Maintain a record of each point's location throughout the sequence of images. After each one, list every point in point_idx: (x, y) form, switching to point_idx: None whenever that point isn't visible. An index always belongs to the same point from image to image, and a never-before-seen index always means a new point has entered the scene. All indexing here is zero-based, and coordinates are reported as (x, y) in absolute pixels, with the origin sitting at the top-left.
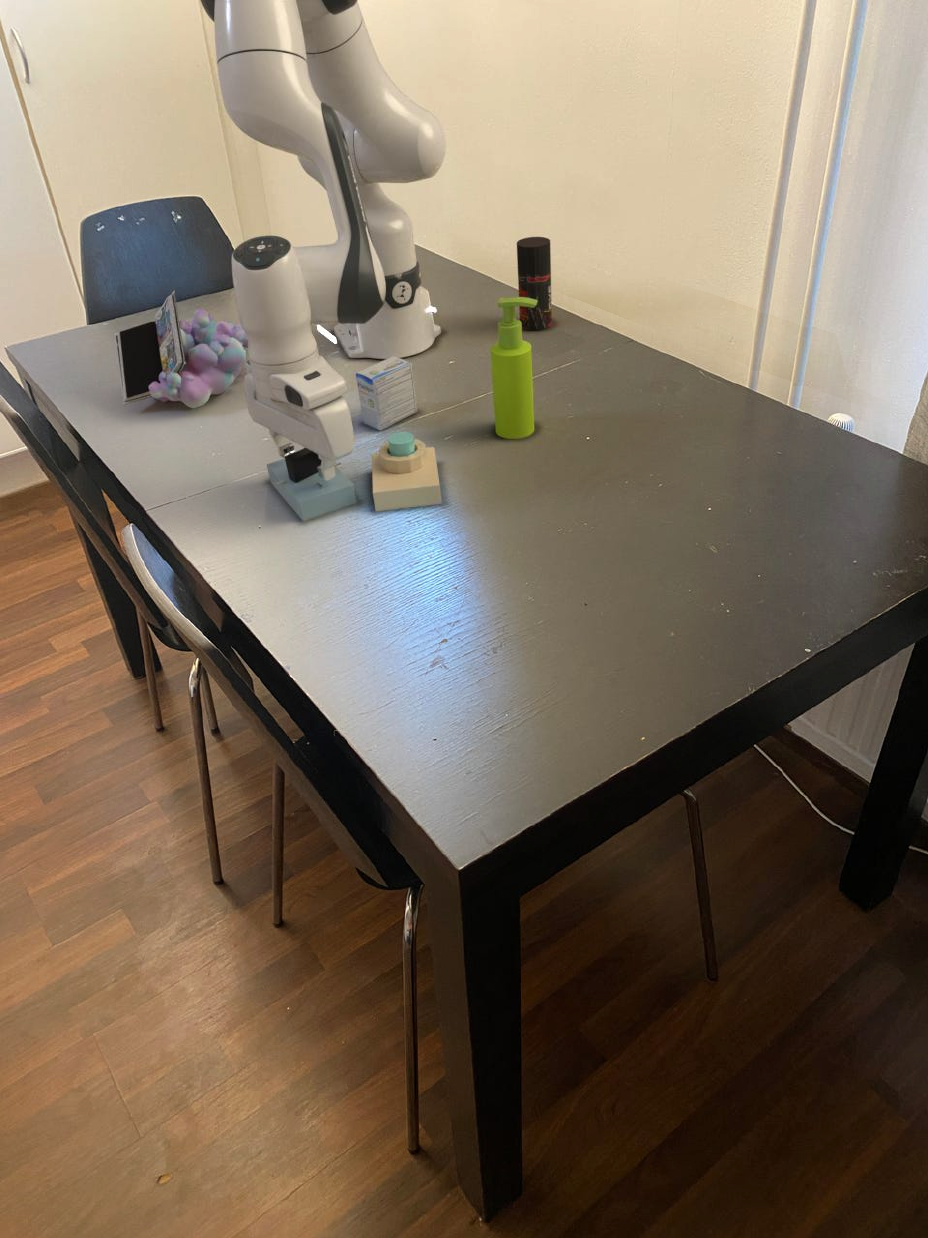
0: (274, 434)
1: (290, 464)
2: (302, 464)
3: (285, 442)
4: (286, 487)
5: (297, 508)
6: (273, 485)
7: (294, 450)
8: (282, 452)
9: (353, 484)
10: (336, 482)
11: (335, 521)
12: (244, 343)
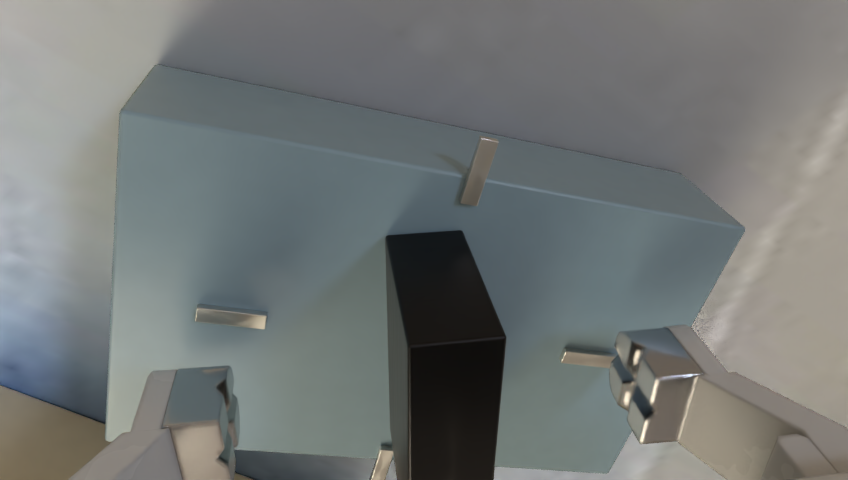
0: (784, 445)
1: (423, 316)
2: (399, 368)
3: (697, 426)
4: (395, 164)
5: (215, 97)
6: (641, 165)
7: (624, 408)
8: (661, 353)
9: (107, 439)
10: None
11: (25, 195)
12: None
